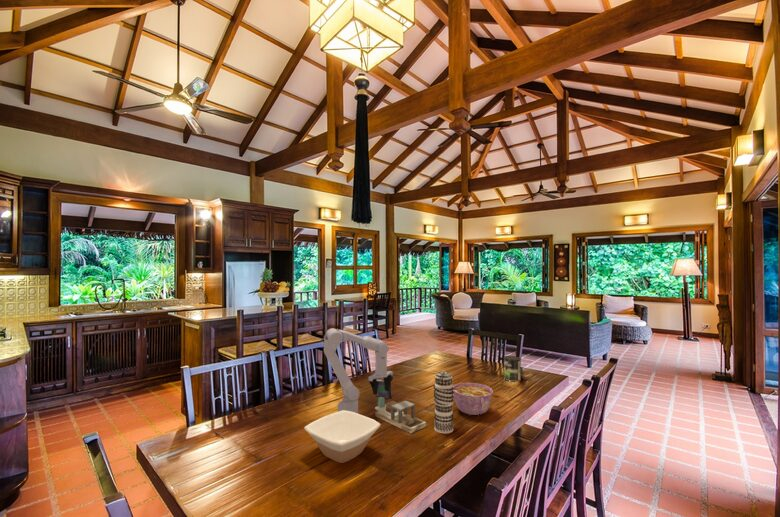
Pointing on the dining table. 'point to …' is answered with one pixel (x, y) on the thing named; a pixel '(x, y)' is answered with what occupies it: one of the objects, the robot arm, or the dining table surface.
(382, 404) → the block
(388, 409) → the walnut block
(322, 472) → the dining table surface
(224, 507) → the dining table surface
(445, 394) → the white patterned tall cylinder
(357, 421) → the bowl
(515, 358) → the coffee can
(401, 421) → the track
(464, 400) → the bowl of food
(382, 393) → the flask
